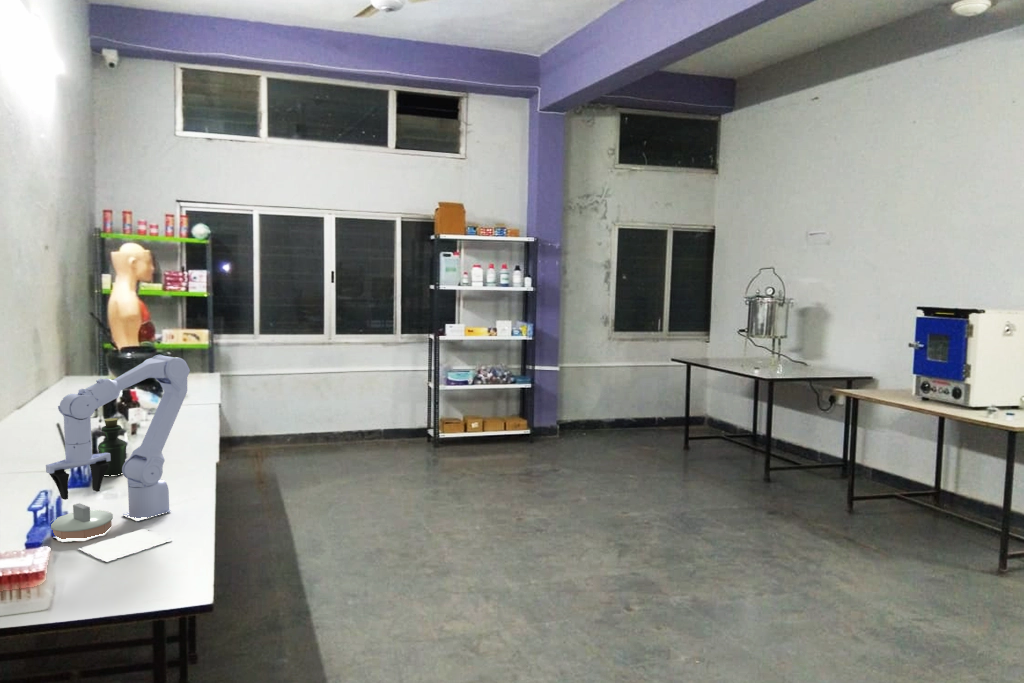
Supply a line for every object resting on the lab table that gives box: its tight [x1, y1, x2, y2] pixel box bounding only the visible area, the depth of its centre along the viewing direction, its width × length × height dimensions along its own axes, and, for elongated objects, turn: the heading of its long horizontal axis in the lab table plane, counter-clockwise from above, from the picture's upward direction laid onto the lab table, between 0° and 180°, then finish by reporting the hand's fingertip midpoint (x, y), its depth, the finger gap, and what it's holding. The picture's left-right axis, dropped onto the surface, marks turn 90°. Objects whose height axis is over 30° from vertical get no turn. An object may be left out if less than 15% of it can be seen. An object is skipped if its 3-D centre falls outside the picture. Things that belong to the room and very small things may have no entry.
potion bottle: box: [97, 417, 127, 476], centre depth 229 cm, size 8×8×18 cm
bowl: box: [51, 520, 113, 539], centre depth 180 cm, size 12×12×3 cm
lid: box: [50, 502, 114, 532], centre depth 180 cm, size 14×14×4 cm
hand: (80, 494), depth 179 cm, fingers open, 7 cm apart
